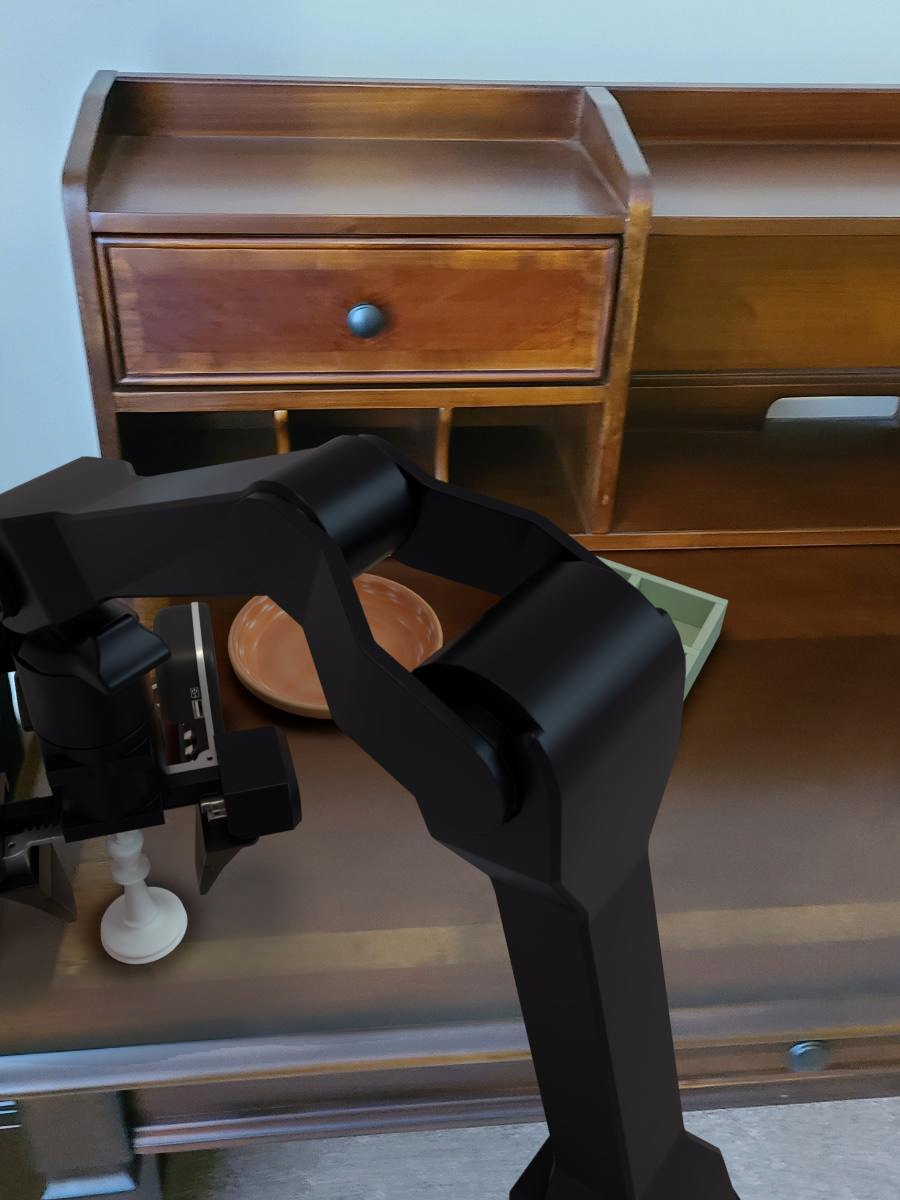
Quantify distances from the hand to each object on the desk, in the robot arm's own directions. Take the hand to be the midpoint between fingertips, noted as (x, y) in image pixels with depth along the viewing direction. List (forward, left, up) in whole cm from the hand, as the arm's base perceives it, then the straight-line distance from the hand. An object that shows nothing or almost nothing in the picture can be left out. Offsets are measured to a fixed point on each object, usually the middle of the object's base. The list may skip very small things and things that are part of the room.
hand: (138, 901), depth 61 cm
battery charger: (+8, -11, -3) cm, 14 cm away
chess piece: (0, 0, -3) cm, 3 cm away
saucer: (+7, -24, -3) cm, 26 cm away
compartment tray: (-9, -35, -2) cm, 36 cm away
